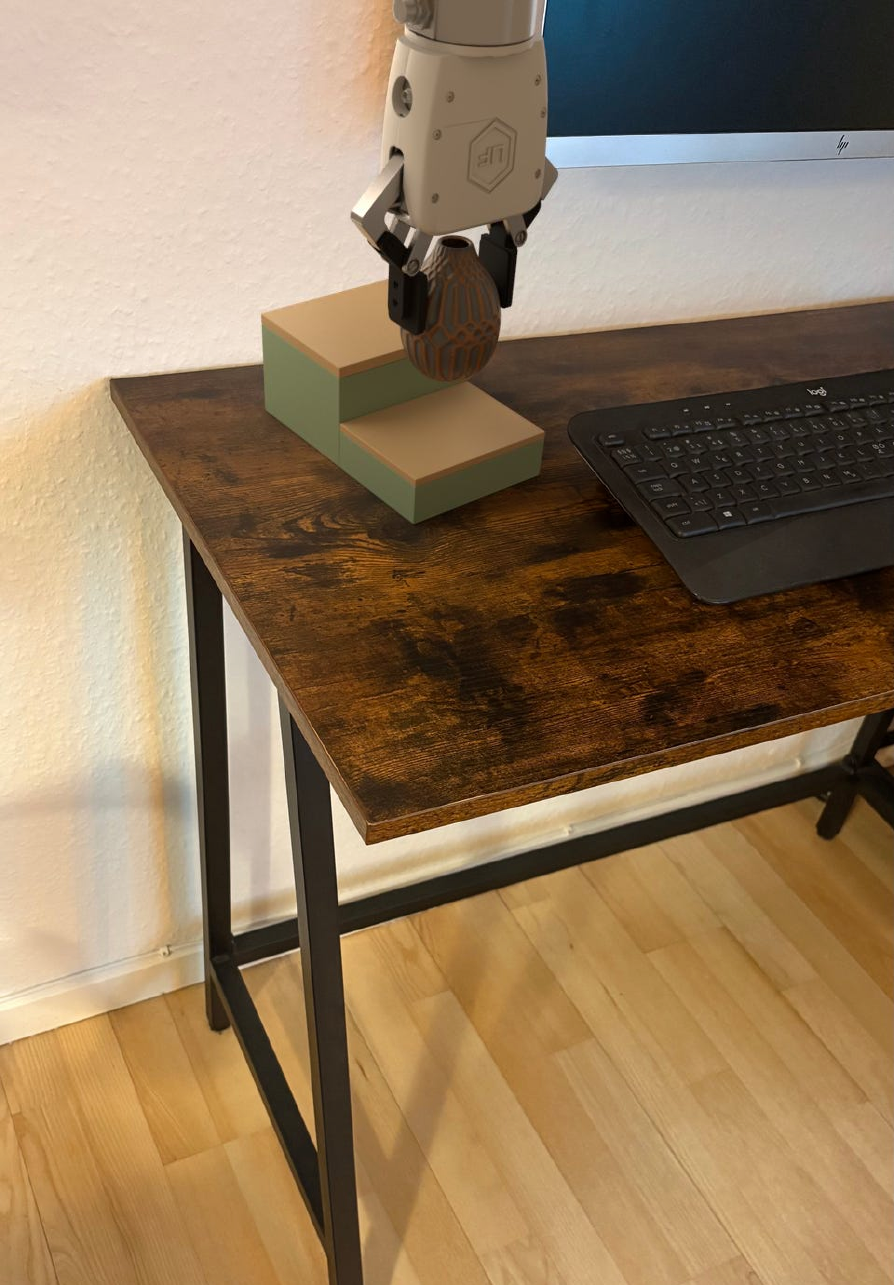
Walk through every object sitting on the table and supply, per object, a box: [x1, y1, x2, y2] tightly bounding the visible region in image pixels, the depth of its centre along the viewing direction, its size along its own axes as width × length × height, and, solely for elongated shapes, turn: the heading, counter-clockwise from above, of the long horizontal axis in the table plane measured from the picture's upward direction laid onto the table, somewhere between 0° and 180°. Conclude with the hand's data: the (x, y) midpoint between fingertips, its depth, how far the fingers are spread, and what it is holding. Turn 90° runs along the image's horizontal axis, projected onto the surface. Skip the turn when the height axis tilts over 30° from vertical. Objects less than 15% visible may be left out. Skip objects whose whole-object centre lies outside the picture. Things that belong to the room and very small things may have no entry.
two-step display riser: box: [260, 278, 546, 525], centre depth 91 cm, size 19×12×8 cm, turn 39°
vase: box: [399, 234, 502, 383], centre depth 83 cm, size 7×7×9 cm
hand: (450, 311), depth 83 cm, fingers closed on vase, 6 cm apart
